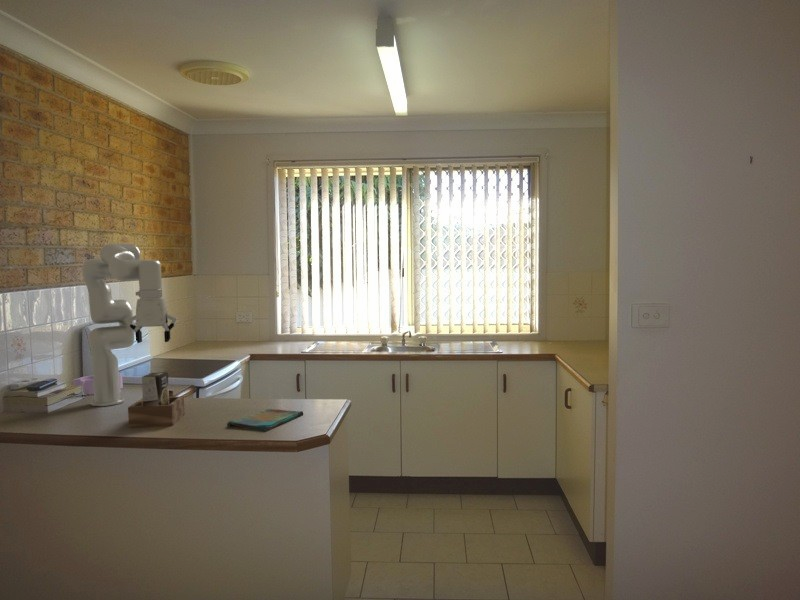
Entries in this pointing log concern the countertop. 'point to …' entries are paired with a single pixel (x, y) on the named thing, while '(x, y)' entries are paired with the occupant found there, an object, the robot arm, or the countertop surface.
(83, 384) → the pink plastic container
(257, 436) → the countertop surface
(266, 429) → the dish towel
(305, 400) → the countertop surface
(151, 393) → the coffee box
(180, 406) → the open wooden box
